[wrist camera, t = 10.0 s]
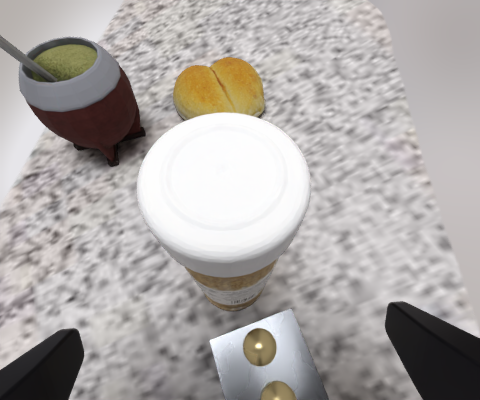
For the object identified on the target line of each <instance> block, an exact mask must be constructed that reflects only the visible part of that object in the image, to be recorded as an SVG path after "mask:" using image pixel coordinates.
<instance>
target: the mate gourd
mask: <svg viewBox="0 0 480 400" xmlns="http://www.w3.org/2000/svg"><path fill="white" fill-rule="evenodd" d="M0 47H1V48H2V49H3V50H5V51H6V52H7V53H9V54H10V55H11V56H13V57H14V58H15V59H17V60H18V61H20V67H19V86H20V91H21V93H22V94H23V96H24V97H25V99H26V101H27V103H28V105H29V106H30V108H31V109H32V111H33V112H34V114H35V115H36V116H37V117H38V119H39V120H40V121H41V122H42V123H43V124H44V125H45V126H46V127H47V128H48V129H50V130H51V131H52V132H54V133H55V134H57V135H58V136H60V137H62V138H64V139H66V140H68V141H70V142H73V143H74V147H75V148H76V149H77V150H78V151H79V150H85V149H89V148H96V149H99V150H100V151H101V152H102V153H103V154H104V155H105V156H106V157H107V161H108V164H109V165H110V166H111V167H113V166H117V165H119V158H118V150H117V143H118V142H122V141H126V140H130V139H135V138H139V137H143V136H145V131H144V128H143V127H140V115H139V109H138V105H137V102H136V99H135V96H134V94H133V91H132V88H131V85H130V81H129V80H128V78H127V76H126V74H125V72H124V71H123V70H122V68H121V67H120V66H119V63H118V62H117V61H116V60H115V59H114V58H113V57H112V56H111V55H110V54H109V53H108V52H107V51H106V50H105V49H104V48H102V47H101V46H99V45H98V44H96V43H95V42H92V41H89V40H86V39H84V38H77V37H64V38H57V39H52V40H49V41H47V42H44V43H41V44H39V45H37V46H36V47H34V48H33V49H31V50H30V51H28V52H27V54H26V55H25V54H23V53H22V52H21V51H20V50H18V49H17V48H16V47H14V46H13V45H12V44H11V43H9V42H8V41H7V40H6V39H4V38H3V37H2V36H1V35H0Z"/></svg>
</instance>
